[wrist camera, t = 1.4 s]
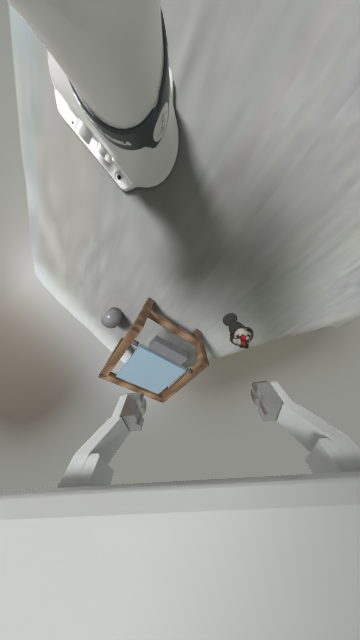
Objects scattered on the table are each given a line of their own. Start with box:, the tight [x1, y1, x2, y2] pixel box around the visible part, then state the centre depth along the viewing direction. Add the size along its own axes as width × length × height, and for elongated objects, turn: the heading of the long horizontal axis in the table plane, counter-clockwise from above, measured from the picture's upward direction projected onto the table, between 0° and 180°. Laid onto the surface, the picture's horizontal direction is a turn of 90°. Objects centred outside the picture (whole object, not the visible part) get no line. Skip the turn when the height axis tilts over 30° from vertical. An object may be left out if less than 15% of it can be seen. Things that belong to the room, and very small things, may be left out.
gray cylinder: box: [101, 307, 123, 328], centre depth 44 cm, size 5×5×5 cm
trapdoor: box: [116, 335, 188, 394], centre depth 37 cm, size 14×18×2 cm
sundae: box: [223, 313, 253, 348], centre depth 41 cm, size 7×7×15 cm
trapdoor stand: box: [98, 298, 209, 403], centre depth 43 cm, size 22×22×16 cm
